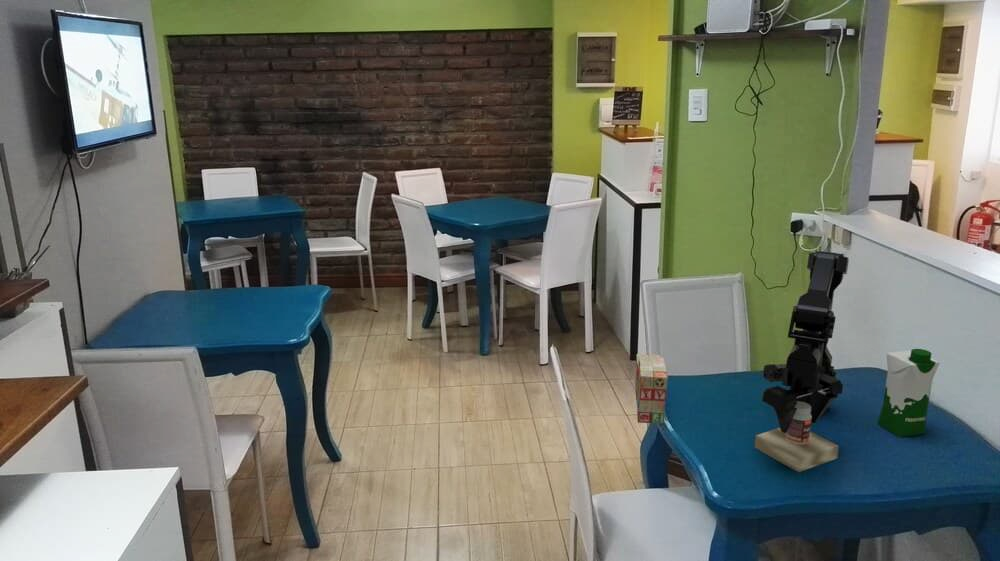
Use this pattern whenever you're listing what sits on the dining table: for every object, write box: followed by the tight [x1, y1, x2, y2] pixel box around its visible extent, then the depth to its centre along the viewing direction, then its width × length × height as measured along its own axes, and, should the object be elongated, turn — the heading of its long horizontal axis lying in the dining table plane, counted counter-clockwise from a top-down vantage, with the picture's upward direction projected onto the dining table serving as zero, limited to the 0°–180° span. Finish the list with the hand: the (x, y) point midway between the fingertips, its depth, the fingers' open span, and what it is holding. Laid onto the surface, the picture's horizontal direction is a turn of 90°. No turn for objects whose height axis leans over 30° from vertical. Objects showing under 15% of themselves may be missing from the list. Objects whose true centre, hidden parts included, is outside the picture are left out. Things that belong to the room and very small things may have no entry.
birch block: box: [754, 427, 840, 473], centre depth 164 cm, size 12×12×3 cm
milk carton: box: [877, 348, 940, 438], centre depth 172 cm, size 9×9×20 cm
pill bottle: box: [786, 401, 812, 445], centre depth 162 cm, size 5×5×8 cm
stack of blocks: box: [635, 353, 669, 425], centre depth 186 cm, size 21×6×12 cm, turn 172°
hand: (798, 427), depth 162 cm, fingers open, 9 cm apart
